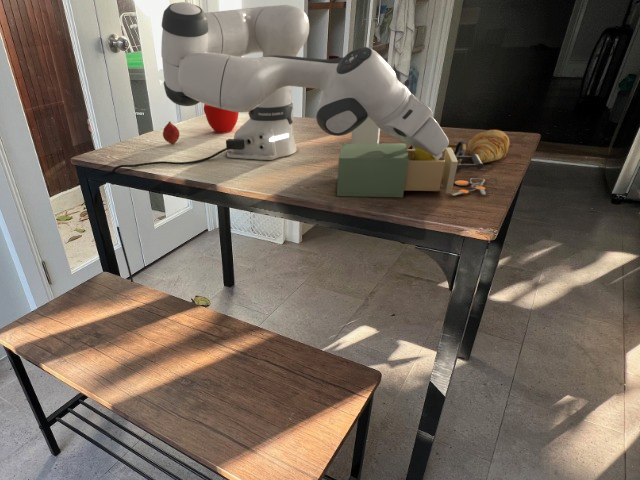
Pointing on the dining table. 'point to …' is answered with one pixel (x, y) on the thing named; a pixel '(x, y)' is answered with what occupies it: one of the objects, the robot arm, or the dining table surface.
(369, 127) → the milk carton
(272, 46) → the robot arm
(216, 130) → the ceramic cup
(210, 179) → the dining table surface
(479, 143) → the croissant
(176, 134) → the onion
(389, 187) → the cabinet
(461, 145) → the sunglasses
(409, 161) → the drawer
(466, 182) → the key chain
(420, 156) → the lemon
